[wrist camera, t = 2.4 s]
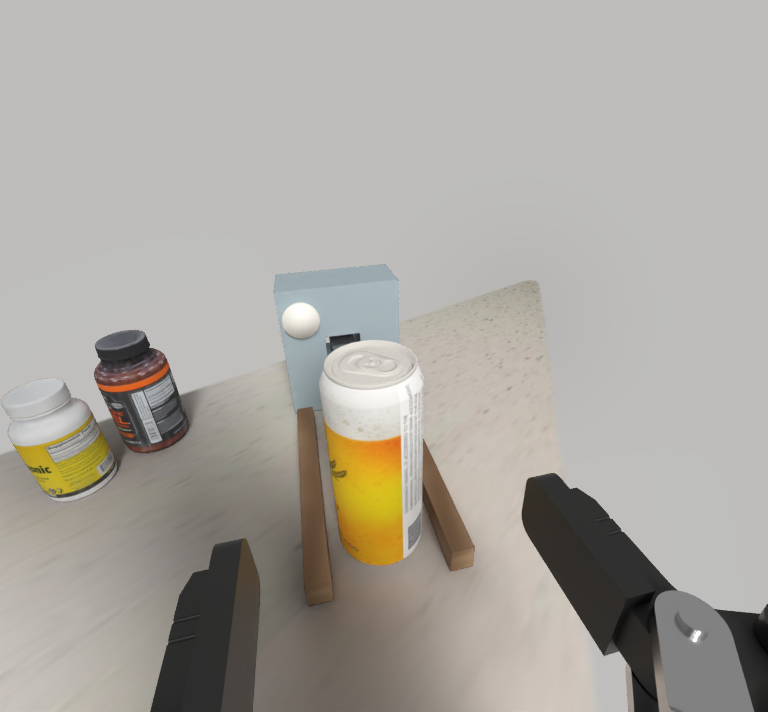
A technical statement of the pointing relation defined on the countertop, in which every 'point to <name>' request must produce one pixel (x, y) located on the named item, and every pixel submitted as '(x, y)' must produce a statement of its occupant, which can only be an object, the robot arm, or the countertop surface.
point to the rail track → (314, 526)
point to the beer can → (375, 447)
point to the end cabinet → (331, 318)
